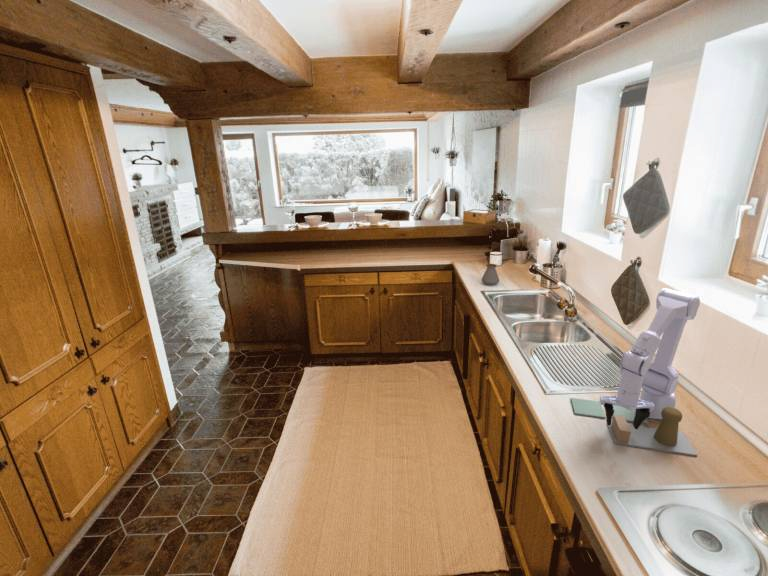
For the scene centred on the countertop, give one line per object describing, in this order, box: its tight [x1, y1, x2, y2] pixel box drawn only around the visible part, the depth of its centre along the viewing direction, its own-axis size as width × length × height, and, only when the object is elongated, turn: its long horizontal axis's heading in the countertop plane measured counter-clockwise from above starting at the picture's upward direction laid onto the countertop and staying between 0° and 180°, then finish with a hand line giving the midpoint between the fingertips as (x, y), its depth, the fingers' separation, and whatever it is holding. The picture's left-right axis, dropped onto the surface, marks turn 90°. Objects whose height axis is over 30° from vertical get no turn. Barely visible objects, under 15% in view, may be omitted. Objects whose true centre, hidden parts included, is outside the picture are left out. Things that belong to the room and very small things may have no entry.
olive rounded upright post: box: [654, 407, 683, 446], centre depth 123 cm, size 6×6×11 cm
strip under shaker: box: [607, 414, 698, 457], centre depth 126 cm, size 22×10×5 cm, turn 75°
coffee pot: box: [481, 255, 500, 287], centre depth 267 cm, size 21×12×15 cm, turn 177°
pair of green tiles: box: [570, 397, 648, 425], centre depth 139 cm, size 22×9×1 cm, turn 75°
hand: (621, 425), depth 127 cm, fingers open, 7 cm apart
